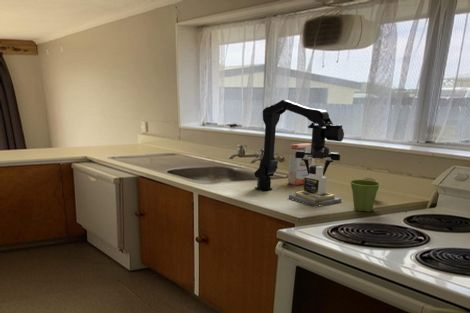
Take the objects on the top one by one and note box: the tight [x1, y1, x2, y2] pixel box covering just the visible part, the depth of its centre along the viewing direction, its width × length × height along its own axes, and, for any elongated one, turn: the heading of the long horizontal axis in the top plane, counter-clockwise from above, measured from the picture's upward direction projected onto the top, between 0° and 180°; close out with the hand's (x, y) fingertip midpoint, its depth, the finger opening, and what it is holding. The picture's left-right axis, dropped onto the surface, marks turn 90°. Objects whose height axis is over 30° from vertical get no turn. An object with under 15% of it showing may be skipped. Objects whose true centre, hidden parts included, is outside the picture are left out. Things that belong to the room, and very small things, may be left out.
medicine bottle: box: [303, 164, 328, 195], centre depth 170 cm, size 7×7×12 cm
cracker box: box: [287, 142, 316, 186], centre depth 204 cm, size 14×6×21 cm, turn 129°
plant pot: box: [349, 179, 382, 213], centre depth 158 cm, size 12×12×11 cm
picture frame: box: [288, 190, 342, 207], centre depth 171 cm, size 16×16×3 cm
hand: (315, 174), depth 169 cm, fingers closed on medicine bottle, 6 cm apart
